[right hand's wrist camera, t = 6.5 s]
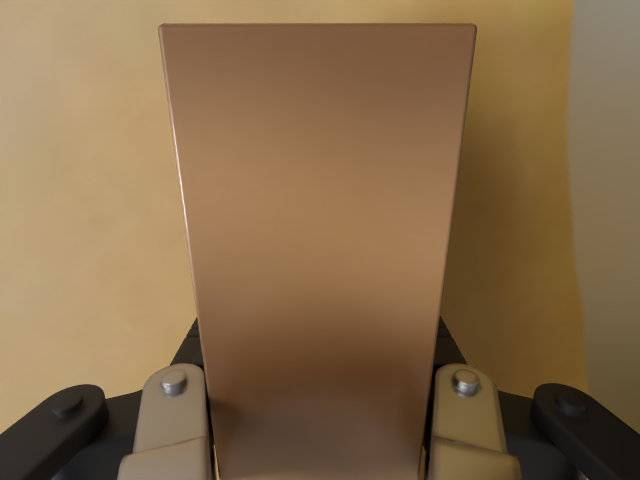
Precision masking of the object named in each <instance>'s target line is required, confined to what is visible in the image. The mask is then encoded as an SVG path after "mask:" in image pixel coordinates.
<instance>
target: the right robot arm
mask: <svg viewBox="0 0 640 480" xmlns="http://www.w3.org/2000/svg"><path fill="white" fill-rule="evenodd" d="M214 444H215V443H214V436H213V428H212V421H211V414H210V406H209V399H208V392H207V384H206V377H205V370H204V363H203V355H202V348H201V341H200V333H199V326H198V319H197V318H196V320H195V321H194V323H193V325H192V327H191V329H190V330H189V332H188V334H187V337H186V338H185V339H184V341H183V343H182V344H181V346H180V348H179V350H178V352H177V353H176V355H175V357H174V359H173V360H172V362H171V364H170V366H168V367H165V368H163V369H161V370H159V371H157V372H156V373H154V374H153V375H152V376H151V377H150V378H149V379H148V380H147V381H146V383H145V385H144V387H143V389H142V390H140V391H137V392H134V393H130V394H126V395H121V396H117V397H113V398H108V399H105V395H104V392H103V390H102V389H101V388H100V387H98V386H95V385H90V384H84V385H77V386H73V387H69V388H66V389H64V390H61V391H59V392H57V393H55V394H53V395H52V396H50V397H48V398H47V399H46V400H44V401H43V402H42V403H40V404H39V405H38V406H37V407H35V408H34V409H33V410H31V411H30V412H29V413H27V414H26V415H25V416H24V417H22V418H21V419H20V420H18V421H17V422H16V423H15V424H13V425H12V426H11V427H9V428H8V429H7V430H6V431H4V432H3V433H2V434H0V480H217V470H216V457H215V449H214ZM423 446H424V449H425V457H424V470H423V480H586V478H588V479H589V480H640V434H638V433H637V432H636V431H634V430H633V429H632V428H631V427H629V426H628V425H627V424H625V423H624V422H623V421H622V420H620V419H619V418H618V417H616V416H615V415H614V414H613V413H611V412H610V411H609V410H607V409H606V408H605V407H603V406H602V405H601V404H600V403H598V402H597V401H596V400H594V399H593V398H592V397H590V396H589V395H587V394H585V393H584V392H582V391H580V390H578V389H575V388H573V387H570V386H566V385H562V384H556V383H548V384H543V385H540V386H539V387H537V389H536V390H535V393H534V396H533V399H532V398H527V397H523V396H518V395H514V394H510V393H506V392H502V391H499V390H497V387H496V385H495V383H494V381H493V380H492V379H491V378H490V377H489V376H488V375H487V374H486V373H484V372H483V371H481V370H479V369H477V368H475V367H472V366H469V365H467V363H466V361H465V359H464V357H463V356H462V354H461V352H460V350H459V348H458V347H457V345H456V343H455V341H454V339H453V338H452V337H451V334H450V332H449V330H448V329H446V325H445V323H444V321H443V320H442V318H441V316H440V317H439V325H438V332H437V340H436V348H435V355H434V363H433V371H432V378H431V386H430V394H429V401H428V409H427V416H426V424H425V432H424V439H423Z"/></svg>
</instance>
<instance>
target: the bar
mask: <svg viewBox="0 0 640 480" xmlns="http://www.w3.org/2000/svg"><path fill="white" fill-rule="evenodd" d="M476 33H477V28H476V25H474V24H472V23H245V24H162V25H160V26H159V27H158V34H159V41H160V49H161V56H162V63H163V70H164V78H165V85H166V92H167V100H168V107H169V114H170V122H171V129H172V136H173V143H174V151H175V158H176V165H177V173H178V180H179V187H180V195H181V202H182V209H183V216H184V224H185V231H186V238H187V246H188V253H189V260H190V268H191V275H192V282H193V290H194V297H195V304H196V311H197V319H198V326H199V333H200V341H201V348H202V355H203V363H204V370H205V377H206V384H207V392H208V399H209V406H210V414H211V421H212V428H213V436H214V443H215V450H216V458H217V465H218V472H219V479H220V480H418V478H419V470H420V462H421V455H422V447H423V439H424V432H425V424H426V416H427V409H428V401H429V394H430V386H431V378H432V371H433V363H434V355H435V348H436V340H437V332H438V325H439V317H440V309H441V302H442V294H443V286H444V279H445V271H446V263H447V256H448V248H449V240H450V233H451V225H452V217H453V210H454V202H455V194H456V187H457V179H458V171H459V164H460V156H461V148H462V141H463V133H464V125H465V118H466V110H467V102H468V95H469V87H470V79H471V72H472V64H473V56H474V49H475V41H476Z"/></svg>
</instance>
